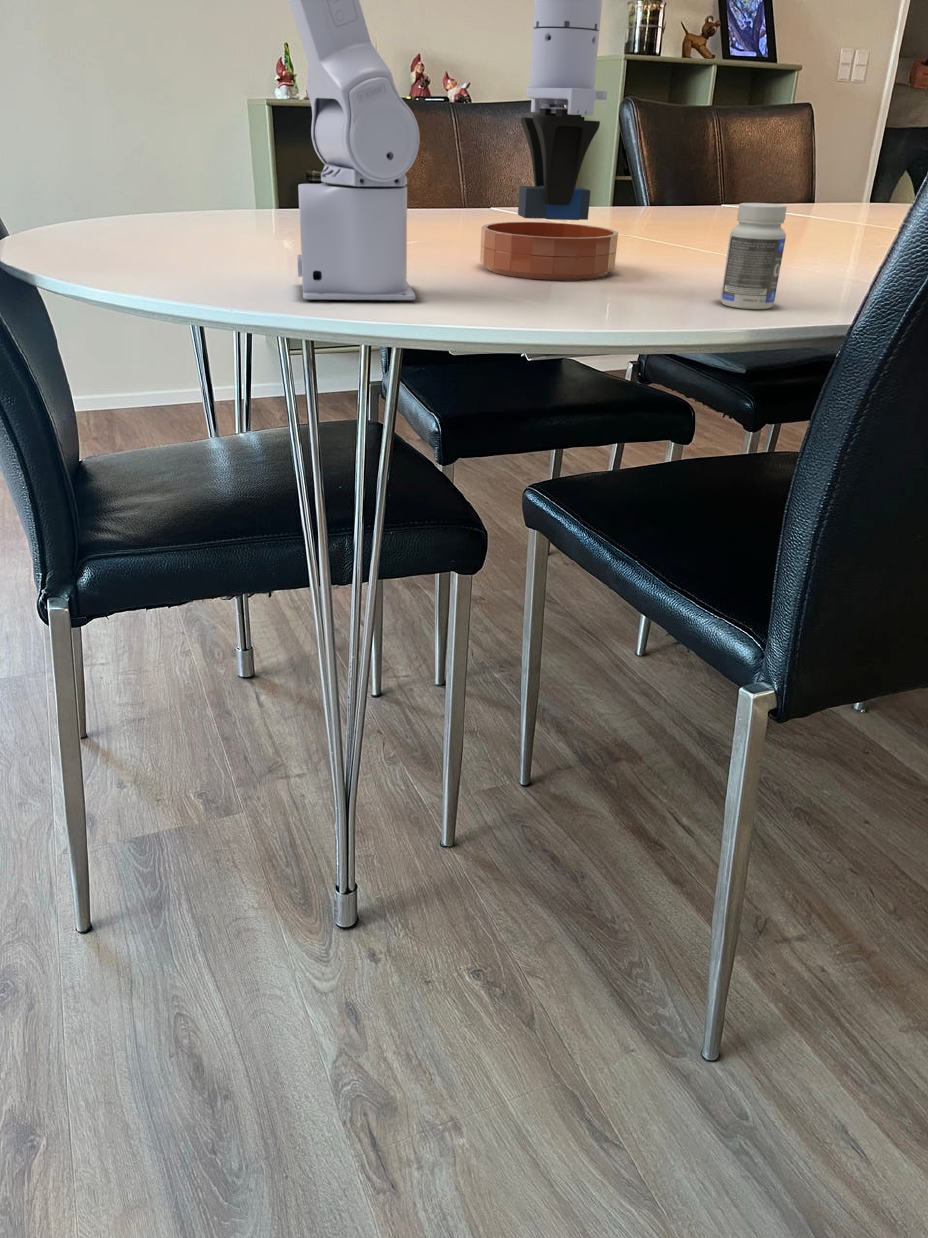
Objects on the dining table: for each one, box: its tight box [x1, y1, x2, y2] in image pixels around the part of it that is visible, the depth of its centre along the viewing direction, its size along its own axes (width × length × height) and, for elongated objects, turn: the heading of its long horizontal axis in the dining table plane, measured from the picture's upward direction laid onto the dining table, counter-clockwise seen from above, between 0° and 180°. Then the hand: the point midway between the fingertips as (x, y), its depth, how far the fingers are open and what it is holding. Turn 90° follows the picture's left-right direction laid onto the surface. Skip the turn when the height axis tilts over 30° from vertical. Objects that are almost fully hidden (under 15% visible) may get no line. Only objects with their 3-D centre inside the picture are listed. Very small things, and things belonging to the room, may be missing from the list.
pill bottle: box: [720, 202, 787, 310], centre depth 85 cm, size 5×5×8 cm
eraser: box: [517, 185, 591, 221], centre depth 89 cm, size 6×3×3 cm, turn 99°
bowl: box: [479, 221, 619, 281], centre depth 100 cm, size 14×14×4 cm
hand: (553, 202), depth 89 cm, fingers closed on eraser, 3 cm apart
